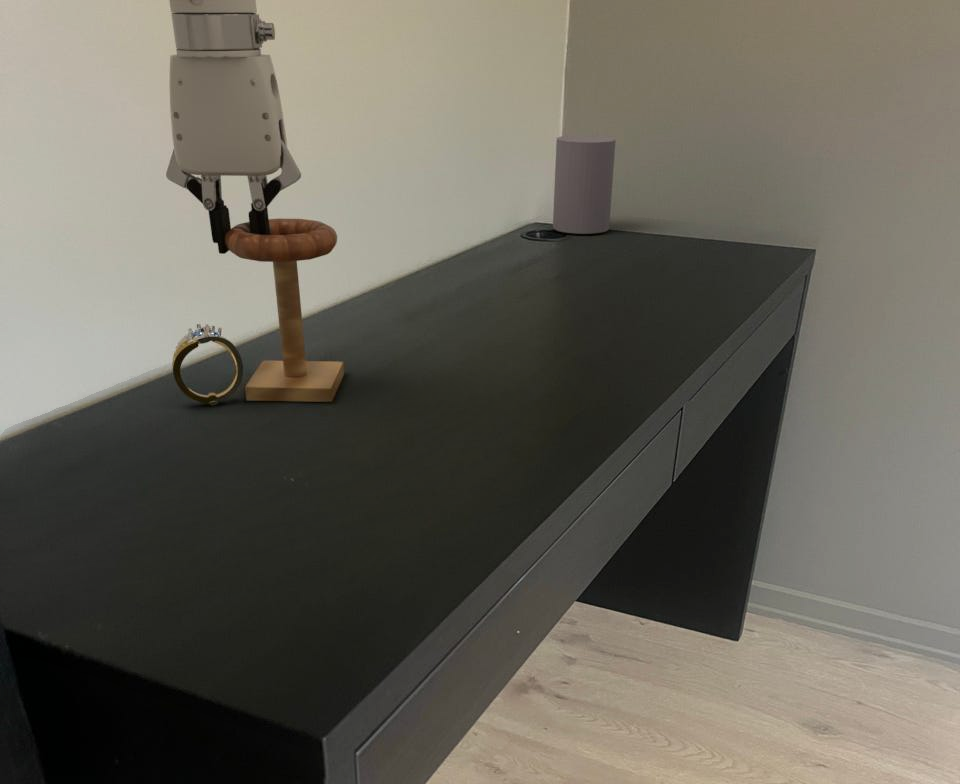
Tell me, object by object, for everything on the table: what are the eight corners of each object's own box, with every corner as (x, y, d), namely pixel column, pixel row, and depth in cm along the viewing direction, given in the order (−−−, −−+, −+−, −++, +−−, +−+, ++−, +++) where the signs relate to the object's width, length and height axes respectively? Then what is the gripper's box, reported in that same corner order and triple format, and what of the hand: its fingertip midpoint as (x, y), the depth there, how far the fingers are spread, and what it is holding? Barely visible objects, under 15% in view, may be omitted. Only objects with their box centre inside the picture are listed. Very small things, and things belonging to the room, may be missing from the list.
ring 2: (216, 263, 95) (212, 237, 94) (241, 240, 104) (239, 215, 103) (328, 265, 95) (326, 238, 93) (343, 241, 104) (342, 217, 102)
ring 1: (245, 395, 105) (236, 319, 100) (249, 405, 102) (239, 327, 98) (178, 402, 103) (165, 324, 98) (179, 412, 100) (166, 333, 96)
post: (246, 400, 103) (229, 266, 96) (264, 373, 111) (249, 246, 103) (331, 402, 103) (321, 267, 96) (344, 374, 111) (335, 247, 103)
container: (619, 229, 182) (626, 138, 174) (590, 238, 175) (596, 144, 167) (571, 222, 187) (576, 133, 179) (541, 230, 180) (545, 139, 172)
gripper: (313, 36, 92) (329, 244, 102) (141, 35, 93) (173, 242, 103) (299, 39, 86) (317, 260, 96) (114, 38, 86) (151, 258, 96)
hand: (242, 249), depth 99 cm, fingers closed on ring 2, 2 cm apart
